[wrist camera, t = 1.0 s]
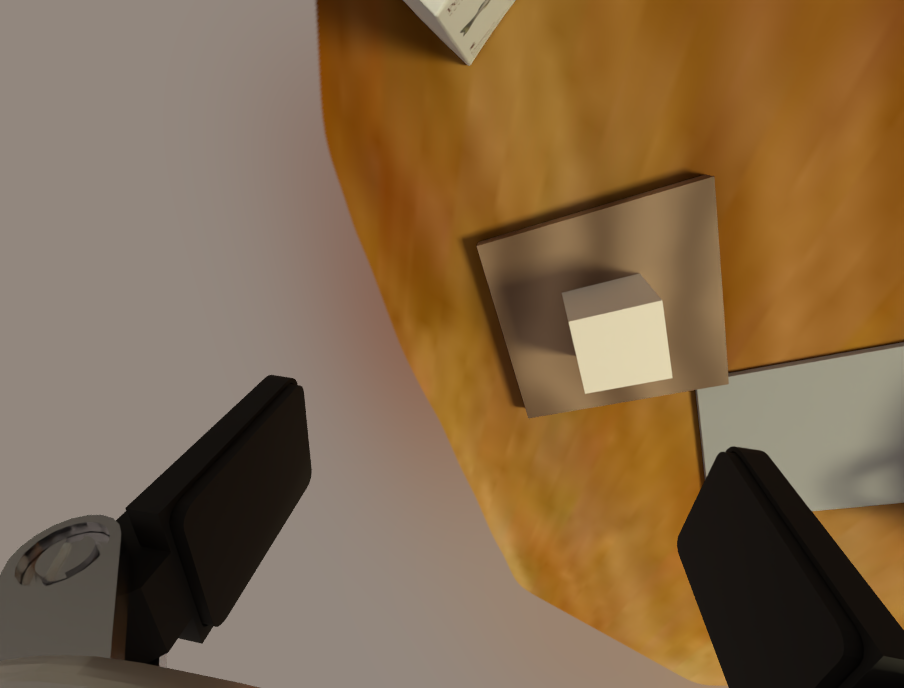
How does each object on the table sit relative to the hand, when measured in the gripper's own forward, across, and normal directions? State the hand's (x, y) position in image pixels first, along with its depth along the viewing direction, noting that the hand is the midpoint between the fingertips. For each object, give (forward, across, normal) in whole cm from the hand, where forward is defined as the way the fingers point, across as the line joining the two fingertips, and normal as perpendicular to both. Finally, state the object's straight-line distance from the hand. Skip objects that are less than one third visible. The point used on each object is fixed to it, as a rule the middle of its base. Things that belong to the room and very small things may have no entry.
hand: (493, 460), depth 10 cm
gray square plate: (+25, -27, +14) cm, 39 cm away
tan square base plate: (+25, -8, +5) cm, 27 cm away
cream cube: (+24, -8, +5) cm, 25 cm away
